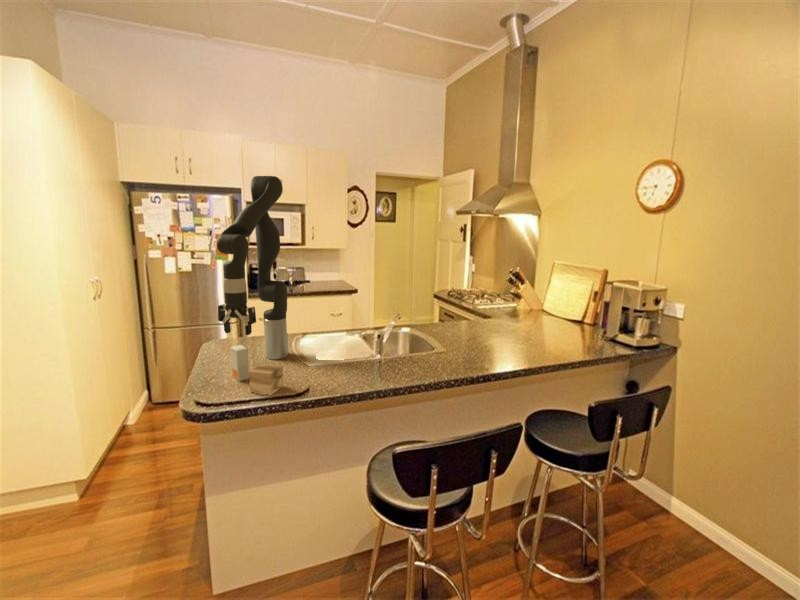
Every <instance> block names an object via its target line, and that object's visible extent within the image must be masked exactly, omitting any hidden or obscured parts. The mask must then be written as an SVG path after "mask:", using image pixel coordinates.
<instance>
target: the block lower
mask: <svg viewBox="0 0 800 600" xmlns="http://www.w3.org/2000/svg"><path fill="white" fill-rule="evenodd" d="M281 386H283V387H284V378H283V377H281V378H280V379H278V380H277V381H276V382H274V383H273V384H271V385H266V384H259V383H252V382H250V381H249V393H250V392H256V393H266V394H271V393H272V392H274V391H275V390H277V389H278V388H280V387H281ZM280 389H281V388H280ZM256 393H255V394H256Z"/></svg>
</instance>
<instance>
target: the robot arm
mask: <svg viewBox="0 0 800 600" xmlns="http://www.w3.org/2000/svg"><path fill="white" fill-rule="evenodd" d="M283 189H284V188H283V182H282V181H281V179H280V178H279V177H277V176H275V175H274V176H273V175H255V176H253V177H252V178H251V181H250V194H251V200H252V203H250V204H249V205H247V206H246V207H244V208H243V209H242V211H240V213H239V214H238V215H237V217H236V219H235V220H234V222H233V223H232V224H231V225H229V226H228V227H227V228H225V229H224V230H223V231H222V232H220V234H219V235H218V237H217V240H216V249H217V251H218V252H220V254H225V255H232V256H233V257H232V260H229V261H228V260H227V261H226V262H223V264H222V265H223V294H224V298H223V299H224V303H223V304H219V305H218V306H217V320H218V322H221V323H223V330H224V333H225V334H230V333H231V322H230V321H231V320H232V319H238V320H239V319H240V320H241V321H242V322H243V324H244V333H245V336H249V335H251V334H252V332H253V331H252V329H253V328H252V325H253V324H256V323H257V313H256V308H255V306H251V307H249V306H247V303H248V295H247V294H248V293H247V292H248V291H247V281H246V269H245V267H246V266H245V265H246V262H247V258H248V253H249V246H250V245H249V240H248V238H249V237H250V236H251V235H252V234H253V232H254V231H255V242H256V253H257V268H258V269H257V294H258V298H259V299H260V301H262V302H264V303H265V302H266V303H273V307H272V308H270V309H267V310H265V311H264V312H263V325H264V327H263V329H264V332H263V333H264V348H265V349H264V350H265V358H266V359H268V360H282V359H285V358H287V357H288V355H289V342H288V341H289V338H288V337H289V336H288V330H287V311H288V287H287V285H286V283H285V281H282V280H272V279H271V275H272V274H271V273H272V272H271V271H272V267H273V265H274V263H275V262H276V259H277V258H278V256H279V254H280V251H281V238H280V237H281V236H280V231H279V229H278V227H277V225H276V224H275V222H274V221H273V219H272V218H271V216H270V213H269V211H270V209H271V208H272V207H273V206H274V204H276V202H277V201H278V200H279V199H280V197H281V196H282V194H283V191H284V190H283Z"/></svg>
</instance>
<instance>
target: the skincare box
mask: <svg viewBox="0 0 800 600" xmlns="http://www.w3.org/2000/svg"><path fill="white" fill-rule="evenodd" d="M230 360H231V361H230V363H231V376H232V378H234V379H235V380H237V381H238V382H242V381H245V380H250V377H249V371H250V370H249V369H250V367H249V354H248V348H247V347H245V346H244V345H242V344H238V345H233V346H230Z"/></svg>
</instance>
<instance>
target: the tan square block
mask: <svg viewBox="0 0 800 600" xmlns="http://www.w3.org/2000/svg"><path fill="white" fill-rule="evenodd" d="M283 368H284V367H283V365H278V364H270V363H264V362H263V363H261V364H259V365H257V366H256V367H254V368H252V369H251V370H249V383H250V382H252V383H259V384H266V385H271V384H273V383H274V382H276V381H277V380H278V379H280V378H281V377H283V376H284V370H283Z"/></svg>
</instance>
